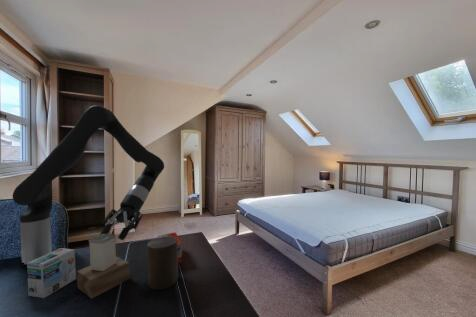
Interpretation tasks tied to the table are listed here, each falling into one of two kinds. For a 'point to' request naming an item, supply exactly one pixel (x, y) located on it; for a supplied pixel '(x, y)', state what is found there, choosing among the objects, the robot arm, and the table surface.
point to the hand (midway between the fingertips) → (111, 237)
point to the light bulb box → (51, 272)
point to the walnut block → (102, 278)
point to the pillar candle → (162, 263)
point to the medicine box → (179, 245)
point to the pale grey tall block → (102, 252)
